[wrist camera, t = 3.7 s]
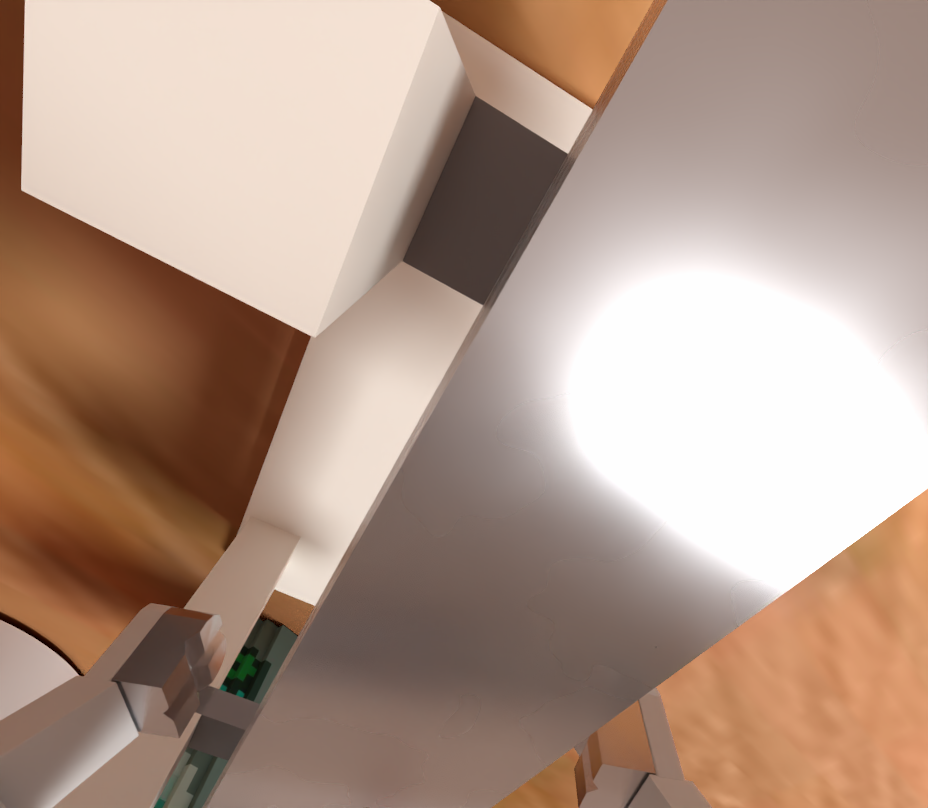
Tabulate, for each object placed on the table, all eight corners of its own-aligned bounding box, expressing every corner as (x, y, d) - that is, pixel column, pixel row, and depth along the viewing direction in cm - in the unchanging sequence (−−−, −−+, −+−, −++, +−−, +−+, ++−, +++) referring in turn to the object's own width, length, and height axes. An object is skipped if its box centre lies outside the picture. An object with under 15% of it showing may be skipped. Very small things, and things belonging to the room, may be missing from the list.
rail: (324, 816, 17) (284, 959, 14) (210, 778, 16) (142, 920, 13) (910, 182, 6) (1329, 194, 3) (636, -12, 5) (816, -258, 2)
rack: (408, 628, 24) (333, 983, 14) (232, 556, 23) (-5, 892, 12) (729, 205, 14) (1522, 328, 3) (438, 15, 12) (-47, -1098, 1)
